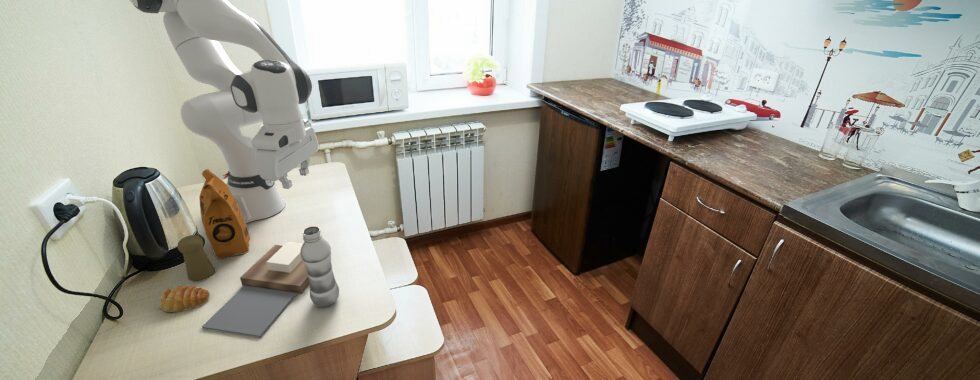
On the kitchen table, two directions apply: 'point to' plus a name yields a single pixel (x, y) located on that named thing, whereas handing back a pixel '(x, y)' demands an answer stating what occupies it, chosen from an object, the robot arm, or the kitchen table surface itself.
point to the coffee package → (222, 218)
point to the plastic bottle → (319, 267)
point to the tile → (286, 258)
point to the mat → (250, 311)
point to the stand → (276, 276)
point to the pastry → (183, 298)
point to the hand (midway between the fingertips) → (296, 180)
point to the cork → (196, 258)
